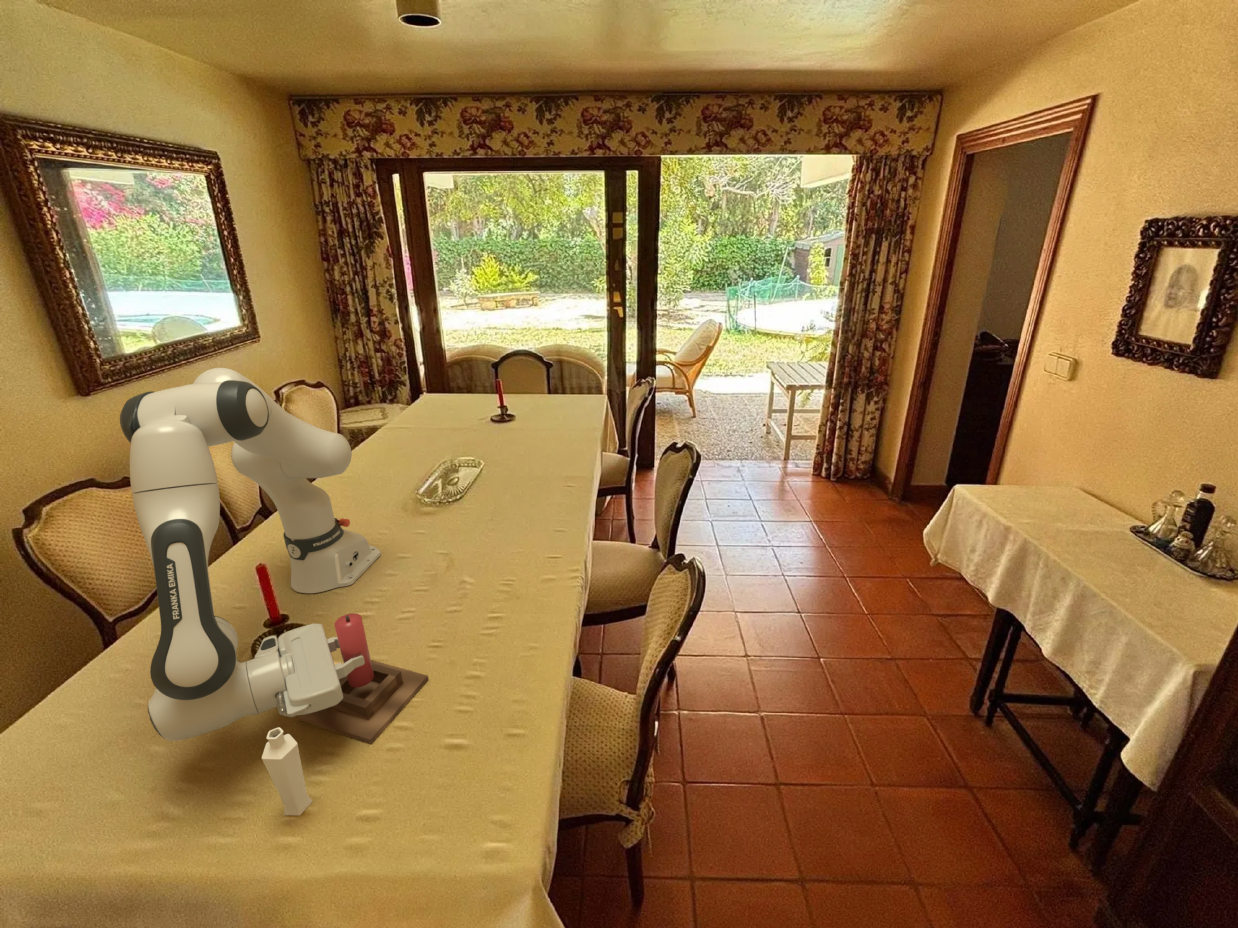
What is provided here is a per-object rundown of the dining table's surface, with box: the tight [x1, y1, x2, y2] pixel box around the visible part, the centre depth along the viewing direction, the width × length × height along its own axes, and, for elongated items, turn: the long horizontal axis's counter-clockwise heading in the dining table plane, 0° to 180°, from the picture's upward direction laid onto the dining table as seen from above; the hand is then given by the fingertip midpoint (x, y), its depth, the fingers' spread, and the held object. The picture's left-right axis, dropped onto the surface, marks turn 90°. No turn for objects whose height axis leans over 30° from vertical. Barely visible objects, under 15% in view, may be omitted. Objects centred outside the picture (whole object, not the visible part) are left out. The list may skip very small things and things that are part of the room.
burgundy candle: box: [334, 612, 374, 688], centre depth 104 cm, size 4×4×14 cm
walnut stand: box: [297, 659, 429, 745], centre depth 108 cm, size 16×16×4 cm
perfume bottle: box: [261, 726, 313, 816], centre depth 86 cm, size 5×4×15 cm
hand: (360, 648), depth 104 cm, fingers closed on burgundy candle, 4 cm apart
